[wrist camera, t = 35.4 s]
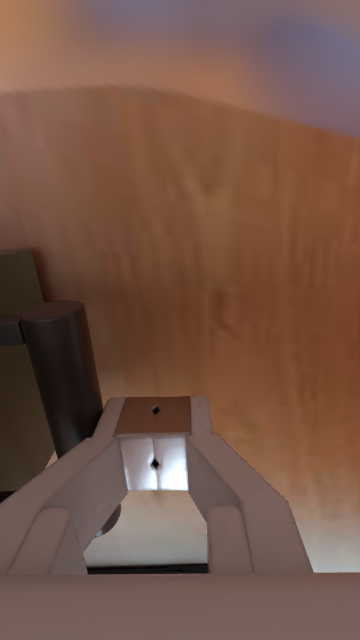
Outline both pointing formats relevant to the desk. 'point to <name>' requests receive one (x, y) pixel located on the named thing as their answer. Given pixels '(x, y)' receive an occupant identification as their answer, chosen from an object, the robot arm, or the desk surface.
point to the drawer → (42, 377)
